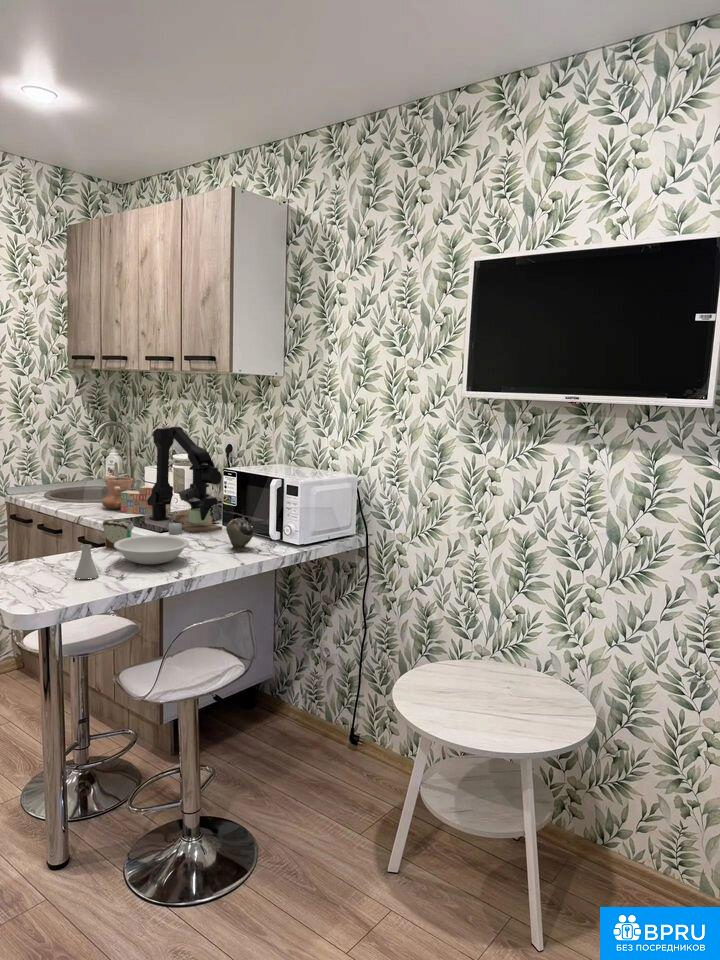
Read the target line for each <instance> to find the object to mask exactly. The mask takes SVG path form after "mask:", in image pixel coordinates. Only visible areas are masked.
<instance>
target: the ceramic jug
mask: <svg viewBox="0 0 720 960" xmlns="http://www.w3.org/2000/svg"><path fill="white" fill-rule="evenodd" d="M104 482H105V486H106V489H107V491H108V494H107V495H106V496H105V497H103V499H102V501H101V504H102V506H103V507H105V508H106V509H109V510H116V511H121V494H120V493H121V492H124V491H131V488H132V485H133V483H134V478H131V477H127V476H108V477H105V478H104Z"/></svg>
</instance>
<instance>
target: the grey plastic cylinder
mask: <svg viewBox="0 0 720 960" xmlns="http://www.w3.org/2000/svg"><path fill="white" fill-rule="evenodd" d="M182 525H183V524H182V523H175V522H169V523H168V535H169V536H179V534H180V535H182V533H183V530H182Z"/></svg>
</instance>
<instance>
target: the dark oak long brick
mask: <svg viewBox="0 0 720 960" xmlns="http://www.w3.org/2000/svg"><path fill="white" fill-rule="evenodd" d="M174 516H175V518H174V519H175V521H174V523H175V522H183V523H185V522H186V523H188V522H189V510H180V511H179V512H177V513H176V514H175V515H174ZM187 521H188V522H187ZM186 523H185V524H186Z"/></svg>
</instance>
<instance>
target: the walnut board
mask: <svg viewBox="0 0 720 960" xmlns="http://www.w3.org/2000/svg"><path fill="white" fill-rule="evenodd" d="M183 530H184V531H183ZM222 530H223V527H222V526H221V525H217V524H214V523H213V522H212V523H209V522H204V523H195V524H194V523H185V524H182V531H183V532H185V531H186V533H188V532H189V533H188V534H191V533H192V534H191V535H193V533H194V534H200V532H201V533H206V532H208V531H209V532H214V531H215V532H216V531H222Z"/></svg>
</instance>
